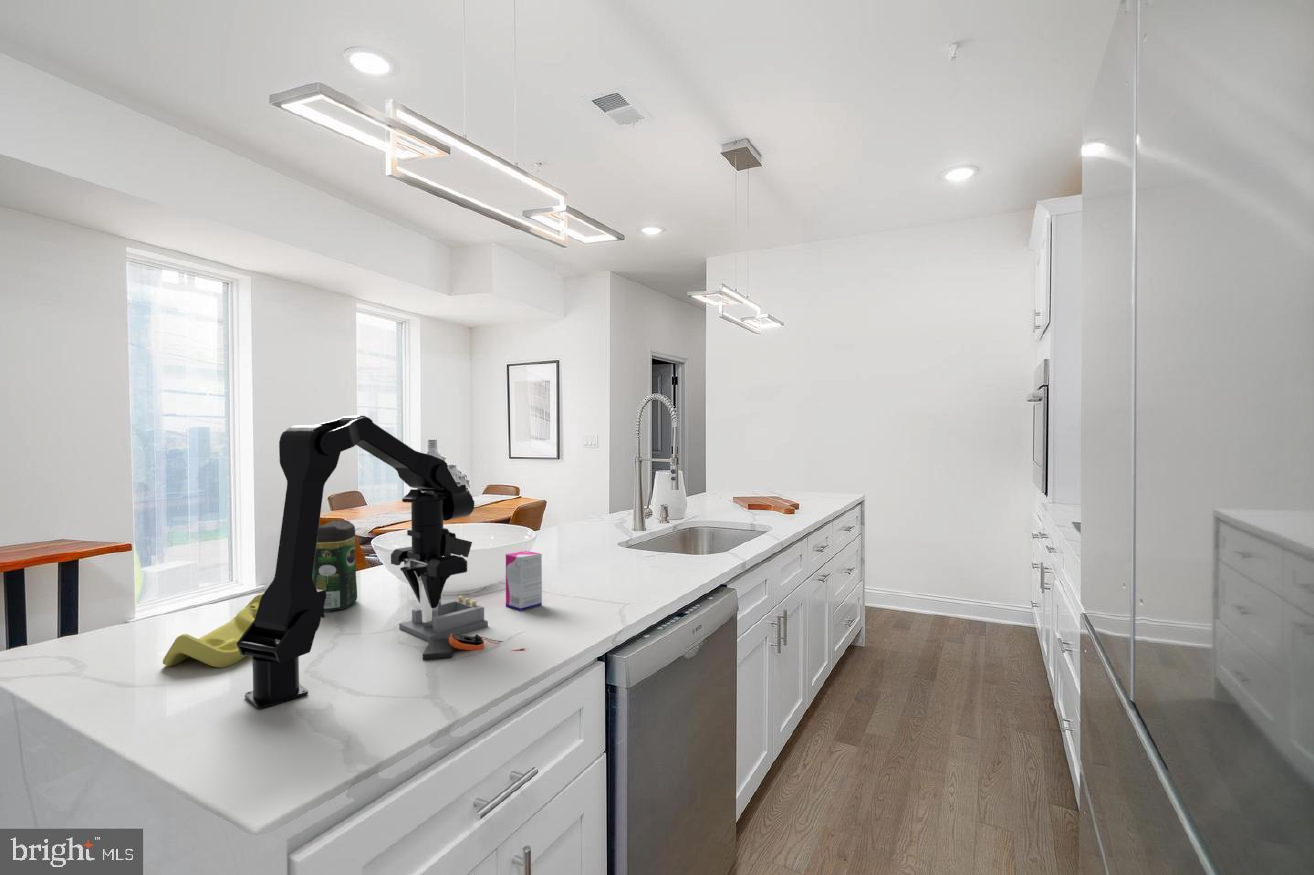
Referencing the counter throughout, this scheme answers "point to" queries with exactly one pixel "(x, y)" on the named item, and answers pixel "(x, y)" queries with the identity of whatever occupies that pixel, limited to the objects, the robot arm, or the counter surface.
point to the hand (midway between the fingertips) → (428, 605)
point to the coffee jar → (336, 564)
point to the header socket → (447, 620)
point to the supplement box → (523, 580)
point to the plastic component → (215, 641)
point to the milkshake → (427, 604)
